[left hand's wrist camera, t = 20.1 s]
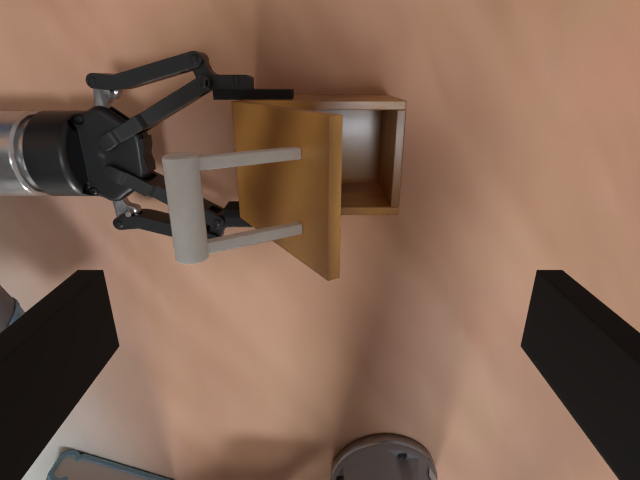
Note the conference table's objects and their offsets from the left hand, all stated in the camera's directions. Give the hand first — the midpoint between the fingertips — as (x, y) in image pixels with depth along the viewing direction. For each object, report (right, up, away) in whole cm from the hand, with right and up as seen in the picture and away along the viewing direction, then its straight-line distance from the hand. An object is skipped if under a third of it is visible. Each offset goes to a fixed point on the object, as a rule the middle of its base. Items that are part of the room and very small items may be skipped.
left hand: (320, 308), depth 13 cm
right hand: (-2, +10, +25) cm, 27 cm away
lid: (-2, +7, +16) cm, 18 cm away
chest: (0, +12, +31) cm, 33 cm away
